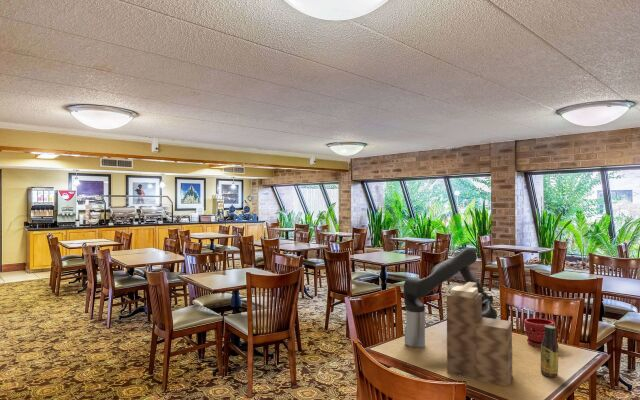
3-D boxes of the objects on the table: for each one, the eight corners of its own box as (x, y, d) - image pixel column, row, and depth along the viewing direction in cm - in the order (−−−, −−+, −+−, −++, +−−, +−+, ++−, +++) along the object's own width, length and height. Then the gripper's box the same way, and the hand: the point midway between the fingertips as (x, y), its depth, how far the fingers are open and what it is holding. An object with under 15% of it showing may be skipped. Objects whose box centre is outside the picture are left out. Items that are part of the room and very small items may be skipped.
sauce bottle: (537, 371, 162) (536, 324, 162) (551, 371, 162) (550, 323, 163) (547, 378, 155) (547, 328, 155) (562, 378, 156) (561, 328, 156)
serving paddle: (450, 295, 161) (449, 289, 161) (462, 286, 179) (462, 281, 179) (472, 298, 156) (472, 292, 156) (483, 288, 174) (483, 283, 174)
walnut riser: (447, 372, 161) (446, 295, 161) (454, 363, 171) (454, 290, 171) (508, 386, 148) (507, 302, 149) (512, 375, 158) (511, 296, 159)
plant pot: (554, 343, 196) (554, 319, 196) (554, 351, 185) (553, 326, 185) (525, 338, 203) (525, 315, 203) (523, 346, 192) (523, 321, 192)
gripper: (466, 295, 197) (459, 283, 185) (496, 298, 189) (491, 287, 177) (464, 309, 194) (457, 298, 182) (495, 314, 186) (490, 302, 174)
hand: (474, 293), depth 180 cm, fingers open, 8 cm apart
